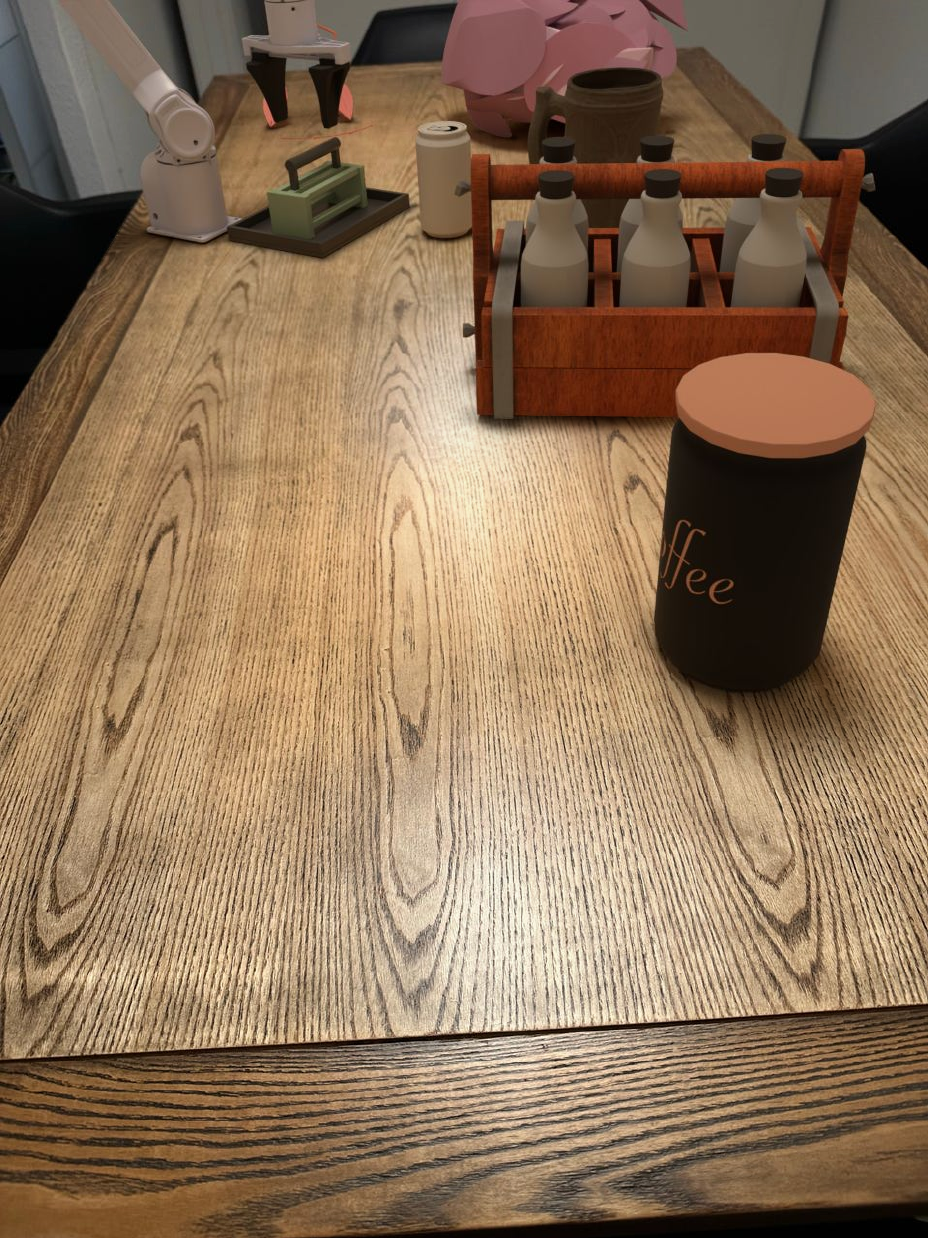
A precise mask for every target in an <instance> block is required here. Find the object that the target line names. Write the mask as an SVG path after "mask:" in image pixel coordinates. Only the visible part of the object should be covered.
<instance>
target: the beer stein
mask: <svg viewBox="0 0 928 1238" xmlns="http://www.w3.org/2000/svg"><path fill="white" fill-rule="evenodd" d="M662 79H663V78H661V76H660V75H659V74H658V73H656V72H654V71H651V70H647V69H642V68H627V67H616V68H601V69H593V70H588V71H583V72H580V73H577V74H574V75H573V76H571V77H570V78H569V80H568V82H567V88H566V92H565V96H562V95H559V94H557V93H555V91H554V90H553V89H552V87H549V86H547V87H538V88H536V103H535V109H534V113H533V116H532V120H531V123H529V124H530V125H529V129H528V134H527V155H528V164H539V163H540V159H541V158H542V157H543V149H542V141H543V140H544V139H547V137H548V126H549V123H550V121H551V120H552V119H551V117H553V116H554V115H558V116H562V117H564V118H565V123H564V124H565V125H564V136H563V137H568V138H572V139H574V140H575V141H576V142H575V148H574V154H573V156H574V157H575V158H576V160H577V164H601V163H637V159H638V157H639V156H640V155H641V147H640V140H641V139H642V138H644V137H647V136H656V135H657V136H660V135H659V126H660V119H661V111H662V103H663V100H664V94H665V93H664V88H663V80H662ZM550 119H551V120H550ZM628 201H629V199H581V202H582V204H583V206H584V208H585V210H586V213H587V216H588V225H589V226H588V228H619V224H620V219H621V215H622V213H623V211H624V209H625V206H626V204H627V203H628Z"/></svg>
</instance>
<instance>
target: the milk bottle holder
mask: <svg viewBox="0 0 928 1238" xmlns="http://www.w3.org/2000/svg"><path fill="white" fill-rule="evenodd" d="M787 140H788V138H786V137H785V136H783V135H781V134H775V133H762V134H761V133H760V134H755V135H753V136H752V137H751V140H750V141H751V142H750V143H751V153H749V154H748V155H747V159H746V161H707V162H706V161H704V162H703V161H699V162H698V161H697V162H690V161H689V162H688V161H687V162H676V161H675V160H676V159H675V157H674V155H672V154H673V150H674V145H675V138H673V137H671V136H668V135H667V136H666V135H659V136H657V135H656V136H647V137H644V138H642V139H641V140H640V147H641V155H640V156H639V157H638V159H637V163H601V164H577V160H576V158H575V157H574V156H573V154H574V148H575V142H576V141H575V140H574V139H572V138H568V137H564V136H552V137H548V138H547V139H544V140H543V141H542V149H543V157H542V158H541V159H540V163H539V164H529V163H528V164H527V163H526V164H525V163H522V164H521V163H520V164H517V163H515V164H492V158H491V154H490V153H471V182H467V181H464V180H462V179H460V180H459V182H458V184H457V186H456V189H455V194H454V195H456V196H459V197H460V196H462V195H464V194H466V193H467V192H471V207H472V227H471V232H472V289H473V291H472V292H473V315H474V316H473V319H474V320H473V321H474V322H473V323H474V325H472V324H471V323H469V322H462V338H471V336H473V335H474V351H475V399H476V400H475V401H476V415H477V416H493V419H494V420H514V419H515V416H546V417H547V416H549V417H550V416H553V417H554V416H555V417H556V416H557V417H558V416H561V417H564V416H565V417H645V418H646V417H647V418H648V417H649V418H651V417H655V418H657V417H658V418H662V417H665V418H678V412H677V406H676V389H677V387H678V385H679V383H680V381H681V379H682V377H683V376H684V375H685V374H686V373H688V372H689V371H691V370H692V369H693V368H695V367H696V366H698V365H700V364H702V363H705V362H708V361H711V360H714V359H717V358H719V357H725V356H731V355H738V354H744V353H779V354H787V355H794V356H802V357H807V358H810V359H814V360H817V361H821V362H825V363H828V364H832V365H834V366H836V367H838V368H840V369H842V370H844V371H846V368H845V366H844V363H843V361H841V357H842V352H843V348H844V345H845V340H846V336H847V328H848V323H849V322H848V321H849V314H848V311H847V308H846V307H844V303H845V300H844V298H843V297H844V293H845V292H844V291H845V285H846V282H847V281H846V280H847V275H848V265H849V254H850V247H851V242H852V238H853V232H854V227H855V222H856V217H857V211H858V206H859V201H860V196H861V190H862V189H863V190H865V191H867V192H868V193H869V192H874V191H876V185H875V184H876V183H875V179H874V174H873V173H872V172H870V173H868V174H865V168H866V167H865V166H866V156H865V152H864V150H863V149H861V148H849V149H847V148H846V149H845V148H844V149H841V150H840V152H839V153H838V158H837V160H804V161H803V160H791V161H790V160H788V161H787V159H786V158H787V157H786V156H785V154H783V153H784V151H785V147H786V143H787ZM804 198H806V199H807V198H808V199H810V198H812V199H813V198H830V202H829V209H828V213H827V219H826V225H825V231H824V237H823V241H822V244H821V247H820V245H819V242H818V241H817V237H816V236H815V233H814V231H813V229H812V227H811V226H805V223H804V221H803V219H802V218H797V212H798V209H799V206H800V204H801V202H802V200H803V199H804ZM581 199H629V201H628V203H627V204H626V206H625V209H624V211H623V213H622V215H621V219H620V224H619V228H588V226H589V225H588V216H587V213H586V210H585V208H584V206H583V204H582V202H581ZM683 199H686V200H687V199H688V200H690V199H734V200H733V202H732V204H731V206H730V207H729V210H728V212H727V215H726V219H725V224H724V226H721V227H714V226H713V227H710V226H709V227H684V216H683V212H682V209H681V206H680V204H681V202H682V200H683ZM493 201H532V204H531V205H530V208H529V210H528V213H527V216H526V221H525V220H505V225H504V228H496V232H495V233H496V234H495V240H494V244H493ZM525 222H526V223H525Z"/></svg>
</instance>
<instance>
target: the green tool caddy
mask: <svg viewBox="0 0 928 1238" xmlns="http://www.w3.org/2000/svg"><path fill="white" fill-rule="evenodd" d="M341 146H342V142H341V139H339V138H338V136H333V137H330V138H329V139H327V140H325V141H322V142H321V143H319V144H317V145H315V146H313V147H310V148H308V149H307V150H305V151H303V152H301V153H299V154H296V155H295V156H293V157H291V158H289V159H287V160H285V162H284V167H285V170H286V171H287V172H288V179H289V181H287V182H285V183H284V184H281V185H279V186H277V187H276V188H273V189H272V188H271V189H269V190H267V191H266V196H267V204H268V206H269V211H270V217H271V224H272V230H273V233H275V234H281V235H286V236H292V237H298V238H304V239H312V238H314V237H315V234H314V228H316V227H318V226H319V225H321V224H323V223H325V222H326V221H328V220H330V219H331V218H333V217H335V216H337V215H338V214H340V213H342V212H344V211H345V210H347V209H349V208H350V207H352V206H354V207H361V208H365V207H366V206H368V203H367V192H366V187H367V184H366V173H365V165H363V164H355V163H347V162H341V154H340V148H341ZM329 154H330V157H331V160H326V161H324V162H323V163H322V164H320V165H318V166H316V167H315V168H313V169H311V170H309V171H307V172H305V173H303V174H301V175H299V172H298V170H299V169H301V168H303V167H305V166H307V165H310V164H312V163H313V162H315V161H317V160H319V159H321V158H323V157H325V156H327V155H329ZM324 192H325V193H324ZM322 193H323V194H322ZM320 194H321V195H320ZM315 197H316V198H315ZM313 198H314V199H313ZM311 199H312V200H311ZM326 202H328V203H334V204H337V205H335V206H333V207H331V208H330V209H328V210H326V211H324V212H322V213H321V214H319V215H317V216H315V217H314V218H312V210H314V209H315V208H317V207H319V206H321V205H323V204H324V203H326Z"/></svg>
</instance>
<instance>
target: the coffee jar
mask: <svg viewBox="0 0 928 1238" xmlns="http://www.w3.org/2000/svg"><path fill="white" fill-rule="evenodd" d="M676 406H677V412H678V417H676V418H677V419H676V421H675V422H674V424H673V426H672V429H671V433H670V443H669V444H670V445H669V453H668V455H669V456H668V466H667V476H666V485H665V496H664V497H665V498H664V507H663V508H664V509H663V517H662V529H661V539H660V540H661V541H660V551H659V560H658V561H659V562H658V571H657V581H656V582H657V583H656V592H655V601H654V603H655V604H654V613H653V625H654V634H655V636H654V637H655V638H656V640H657V642H658V644H659V646H660V647H661V649H662V650H663V652H664V654H665V655H666V657H667V658H668V659H669V660H670V663H671V664H672V665H673V666H675V668H677V669H678V670H679V671H681V673H683V674H684V675H685V676H687V678H689V679H692V680H694V681H696V682H698V683H699V684H703V685H705V686H707V687H710V688H714V689H717V690H722V691H726V692H731V693H760V692H764V691H770V690H773V689H778V688H780V687H782V686H784V685H786V684H788V683H790V682H792V681H794V680H796V679H797V678H798V677H799V676H801V675H803V674H804V673H805V672H806V671H807V670H808V669H809V668H810V667H811V666H812V665H813V664H814V662H815V661H816V660H817V659H818V657H819V656H820V655H821V650H822V645H823V641H824V637H825V633H826V627H827V624H828V618H829V615H830V612H831V611H830V610H831V607H832V606H831V605H832V602H833V597H834V592H835V588H836V585H837V579H838V575H839V571H840V566H841V561H842V558H843V554H844V550H845V549H844V548H845V544H846V540H847V536H848V531H849V526H850V522H851V518H852V514H853V508H854V504H855V500H856V496H857V491H858V487H859V483H860V479H861V474H862V469H863V465H864V460H865V456H866V451H867V449H868V448H867V447H868V446H867V439H866V437H865V435H867V433H868V432H869V431H870V428H871V426H872V422H873V419H874V415H875V411H876V407H877V403H876V400H875V398H874V396H873V394H872V391H871V389H870V387H868V385H866V384H865V383H863V382H862V381H861V380H860V379H859V378H858V377H857V376H855V375H854V374H852V373H850V372H848V371H846V370H845V371H844V370H842V369H840V368H838V367H836V366H834V365H832V364H828V363H825V362H821V361H817V360H814V359H810V358H807V357H802V356H794V355H787V354H779V353H744V354H738V355H731V356H725V357H719V358H717V359H714V360H711V361H708V362H705V363H702V364H700V365H698V366H696V367H695V368H693V369H692V370H691V371H689V372H688V373H686V374H685V375H684V376H683V377H682V379H681V381H680V383H679V385H678V387H677V389H676Z"/></svg>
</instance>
